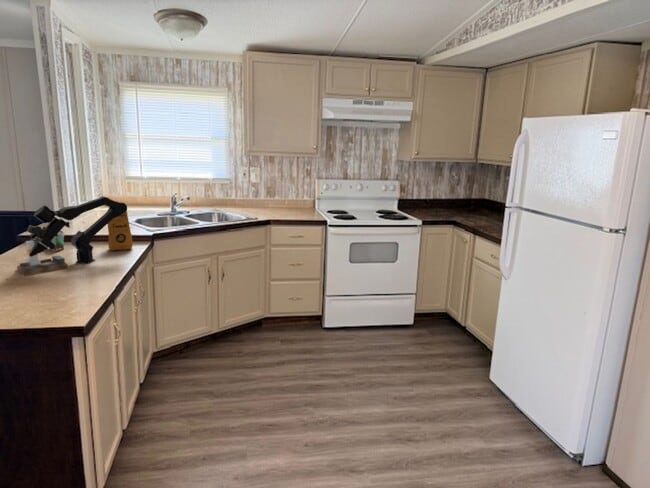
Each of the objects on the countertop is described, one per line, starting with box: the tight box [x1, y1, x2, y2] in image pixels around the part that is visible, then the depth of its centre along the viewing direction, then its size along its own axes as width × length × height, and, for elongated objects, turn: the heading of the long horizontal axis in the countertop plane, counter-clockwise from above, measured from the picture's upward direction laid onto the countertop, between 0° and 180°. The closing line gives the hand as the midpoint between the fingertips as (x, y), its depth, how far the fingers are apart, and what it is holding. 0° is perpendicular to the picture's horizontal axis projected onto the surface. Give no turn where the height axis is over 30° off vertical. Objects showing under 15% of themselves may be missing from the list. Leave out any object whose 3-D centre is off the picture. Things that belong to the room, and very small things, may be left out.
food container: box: [51, 230, 65, 253], centre depth 246 cm, size 12×6×10 cm, turn 47°
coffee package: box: [107, 210, 134, 251], centre depth 248 cm, size 10×12×22 cm
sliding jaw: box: [25, 240, 41, 267], centre depth 206 cm, size 4×8×12 cm, turn 48°
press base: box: [16, 255, 69, 276], centre depth 210 cm, size 18×12×4 cm, turn 137°
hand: (29, 255), depth 205 cm, fingers closed on sliding jaw, 3 cm apart
